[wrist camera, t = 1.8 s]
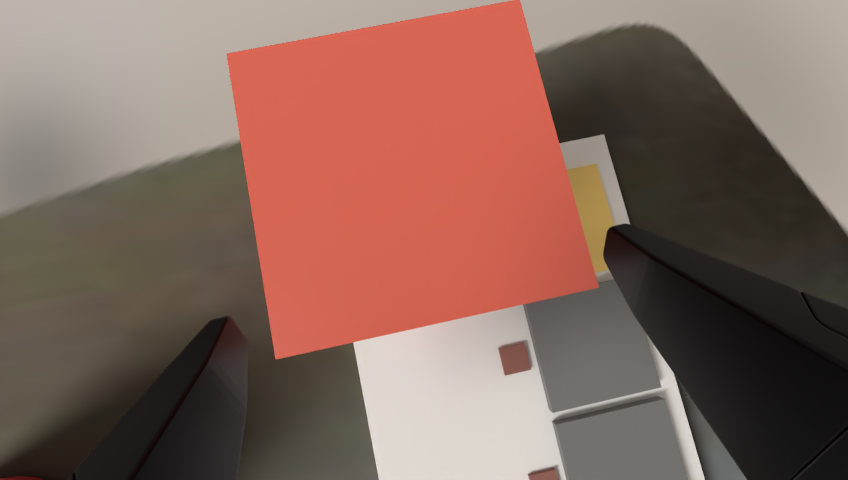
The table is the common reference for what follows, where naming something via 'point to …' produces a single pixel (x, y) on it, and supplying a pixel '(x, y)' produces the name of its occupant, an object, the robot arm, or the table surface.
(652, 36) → the table surface
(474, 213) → the tall red square pillar
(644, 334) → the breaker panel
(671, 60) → the table surface
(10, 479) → the canned food
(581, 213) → the plate
